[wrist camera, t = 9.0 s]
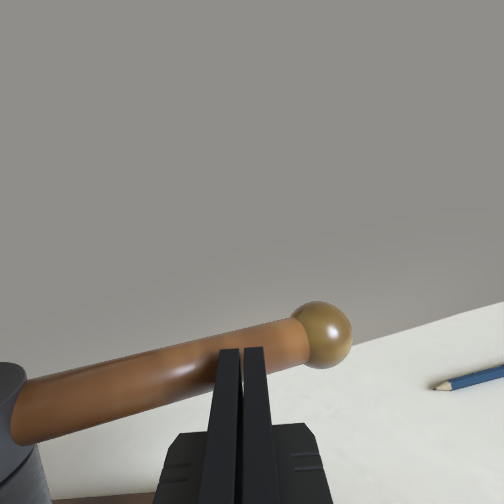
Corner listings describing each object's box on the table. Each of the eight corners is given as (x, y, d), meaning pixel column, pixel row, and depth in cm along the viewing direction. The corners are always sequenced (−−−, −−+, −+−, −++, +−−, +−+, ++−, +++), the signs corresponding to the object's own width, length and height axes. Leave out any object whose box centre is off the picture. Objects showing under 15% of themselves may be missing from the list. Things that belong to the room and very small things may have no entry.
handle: (-207, 588, 8) (-261, 483, 7) (-87, 445, 12) (-113, 372, 12) (379, 380, 14) (380, 314, 13) (319, 335, 19) (318, 284, 18)
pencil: (559, 363, 32) (436, 397, 28) (548, 358, 33) (428, 390, 29) (560, 355, 32) (437, 388, 28) (549, 350, 33) (428, 382, 29)
